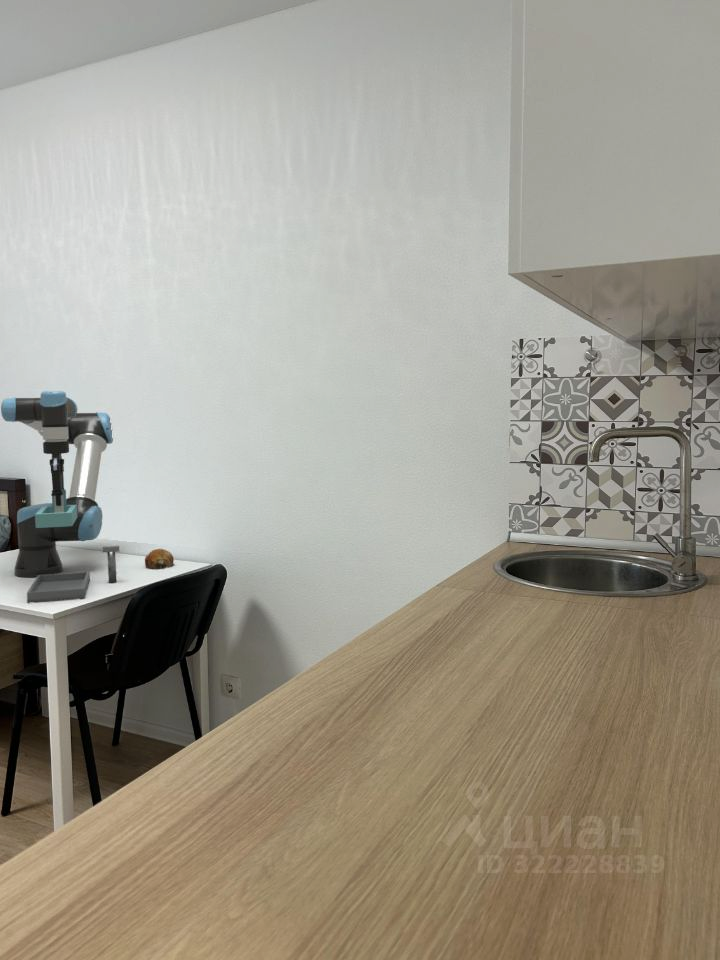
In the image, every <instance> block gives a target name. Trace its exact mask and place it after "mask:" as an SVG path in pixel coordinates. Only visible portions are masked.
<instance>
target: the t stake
mask: <svg viewBox="0 0 720 960" xmlns="http://www.w3.org/2000/svg"><path fill="white" fill-rule="evenodd" d="M117 552H118V553H119V552H120V545H111V546H110V545H109V546H108V545H107V546H102V553H107V570H108V572H107V573H108V583H109V584H115V583H117V581H118V580H117V563H116V562H117V561H116V560H117V559H116V553H117Z"/></svg>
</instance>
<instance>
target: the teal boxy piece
mask: <svg viewBox="0 0 720 960" xmlns="http://www.w3.org/2000/svg"><path fill="white" fill-rule="evenodd" d="M62 493H63V494H62V495H63V501H64V512H62V513H55V510H54V496H51V501H52V502H51V503H52V506H43V507H42V508H41V509H40V510H39V511H38V512H37V513H36V514H35V523H36V528H46V527H65V526H72V525H73V524H74V522H75V520H76V519H77V505H67V504H66V499H67V491H66V488H64V490H62ZM51 494H53V489H52V490H51Z"/></svg>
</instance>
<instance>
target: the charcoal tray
mask: <svg viewBox="0 0 720 960" xmlns="http://www.w3.org/2000/svg"><path fill="white" fill-rule="evenodd" d="M90 575H91V572H90V571H78V572H65V573H63V572H62V573H56V574H47V575H38V576H37V577H35V579H34V581H33V583H32V584H31V586H30V587H29V589H28V590H27V592H26V602H34V603H43V602H44V603H45V602H47V603H48V602H56V601H57V602H58V601H59V602H60V601H71V600H84V599H85V598H86V594H87V592H88V588H89V586H90V582H91V576H90Z"/></svg>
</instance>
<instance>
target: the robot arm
mask: <svg viewBox="0 0 720 960" xmlns="http://www.w3.org/2000/svg"><path fill="white" fill-rule="evenodd" d="M0 411H1V413H0V414H1V416H2V419H3V421H5V422H12V423H15V422H19V423H22V424H24V425H25V426H26V427H27V426H28V427H29V428H31V429H34V430H36V431H37V433H38V434H39V435H40V436H42V440H43V443H42V447H43V448H42V450H43V451H42V452H43V454H46V455H51V459H49V466H50V474H51V484H52V490H53V494H52V493H51V495H50V496H51V497H52V496H54V510H55V513H62V512H64V501H63V495H62V494H63V493H62V490H65V482H64V480H65V479H64V471H65V466H64V464H65V458H62V454H68V453H69V452H70V445H73V446H74V447H75V448H76V452H75V453H76V454H75V458H74V464H73V472H72V478H71V483H70V490H69V496H68V497H66V504H67V505H77V519H76V520H75V522H74V524H73V525H72V526H65V527H46V528H36V523H35V514H36V513H37V512H38V511H39V510H40V509H41V508H42V507H43V506H52V502H50V503H49V502H46V503H39V504H32V505H28V506H25V507H22V508H19V510H18V511H17V513H16V514H17V515H16V519H17V520H16V524H17V525H16V526H17V538H18V539H17V540H18V554H17V558H16V562H15V565H14V576H16V577H21V578H37V576H38V575H47V574H60V573H61V572H63V571H64V570H63V563H62V560H61V558H60V555H59V552H58V550H57V546H56V545H57V544H56V543H59V542H85V541H93V540H95V539H97V538H98V536H99V535H100V534H101V530H102V525H103V509H102V507H100V506H99V504H98V502H97V501H96V494H97V488H98V487H97V486H98V480H99V474H100V473H99V472H100V468H101V460H102V453H103V452H105V451H106V450H107V447H108V445H110V444H112V443H113V442H114V437H113V438H112V431H113V429H112V430H111V425H112V422H111V423H110V420H111V417H110V415H109V414H108V413H106V412H97V411H96V412H78V405H77V403H76V402H75V401H74V399H72V398H70V397H68V396H67V392H66V391H63V390H49V391H48V390H43V391H41V392H40V397H11V398H10V397H8V398H7V397H6V398H4V399H2V401H1V405H0Z"/></svg>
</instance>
